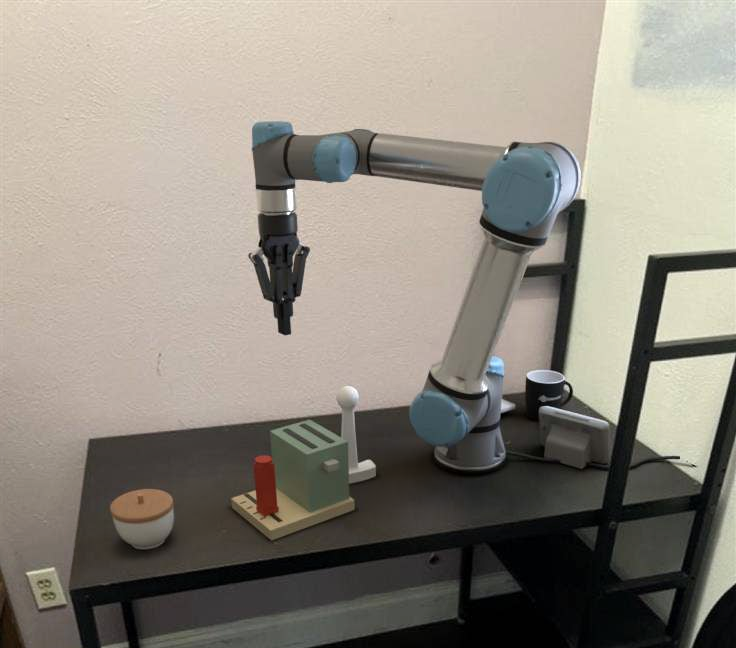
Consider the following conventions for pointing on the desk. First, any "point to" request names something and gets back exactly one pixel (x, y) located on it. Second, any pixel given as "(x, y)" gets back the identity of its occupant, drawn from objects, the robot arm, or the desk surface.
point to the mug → (544, 391)
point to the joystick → (353, 436)
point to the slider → (265, 485)
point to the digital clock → (574, 437)
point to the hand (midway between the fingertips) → (284, 333)
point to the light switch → (506, 406)
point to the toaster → (302, 480)
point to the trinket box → (143, 517)
